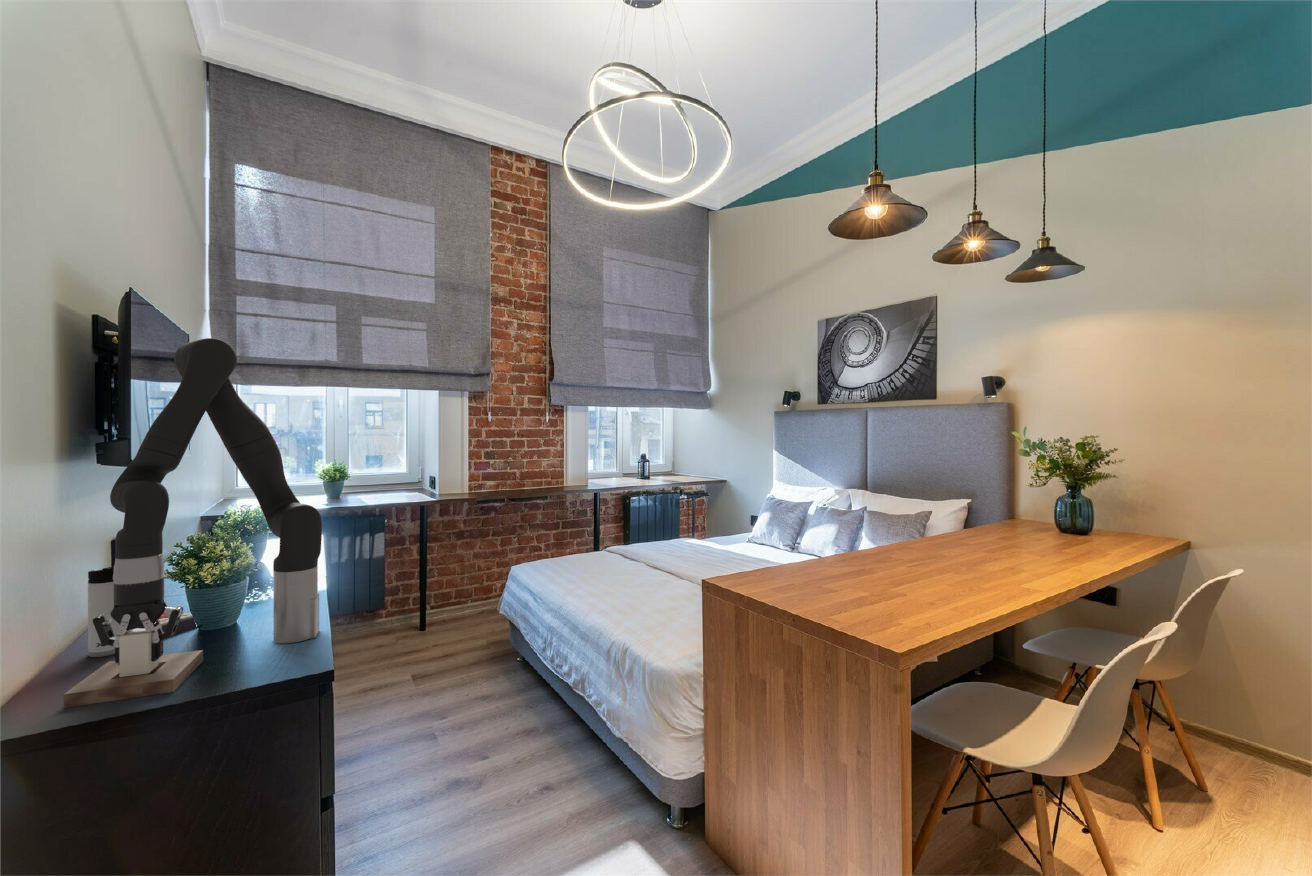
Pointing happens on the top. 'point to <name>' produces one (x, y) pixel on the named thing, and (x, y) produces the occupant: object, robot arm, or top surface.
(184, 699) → the top surface
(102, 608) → the travel mug
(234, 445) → the robot arm
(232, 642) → the top surface
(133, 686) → the socket base
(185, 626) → the calculator
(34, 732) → the top surface
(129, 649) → the peg
